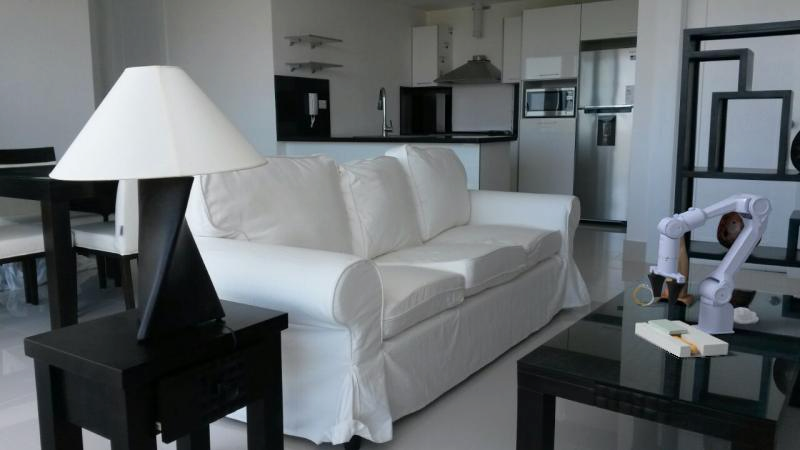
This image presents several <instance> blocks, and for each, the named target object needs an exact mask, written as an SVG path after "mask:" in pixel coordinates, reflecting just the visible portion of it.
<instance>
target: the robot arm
mask: <svg viewBox="0 0 800 450" xmlns="http://www.w3.org/2000/svg"><path fill="white" fill-rule="evenodd" d="M772 211H773V208H772V205H771V201H770V199H769V198H768V197H766V196H765V195H759V194H752V193H750V192H744V191H743V192H740V193H738V194H734V195H732V196H730V197H728V198H726V199H723V200H721V201H719V202H717V203H714V204H712V205H710V206H708V207H705V208H703V209H701V208H699V207H692V206H691V207H689V208H688V210H687V211H685V212H682V213H679V214H678V213H674V215H673V217H668V216H667V217H664V218H662V219H661V221H659V223H658V225H657V226H656V229H657V232H658V233H659V243H658V244H659V245H658V255H657V265H651V266H649V272H650V273H649V274H648V273H647V278H648V281H649V282H650V286H651V289H652V291H653V295H652V297H653V296H654V297H655V298H658V297H661V294H662V293H663V288H664V283H665V285H666V284H667V287H668V298H667V299H668V300H667V301H668V304H669V305H676V304H677V302H678V301H679V300H678V297H679V295H680V293H681V291H682V289H683V288H684V287H685V286H686V283H685V276H683V275H681V274H680V273H678V272H677V269H678V258H679V247H680V237H682V236H683V234H684V235H685V233H687V232H690V231H693V230H695V229H697V228H700V227H703V226H705V225H706V223H707V221H708V220H710V219H714V218H717V217H719V216H723V215H727V214H729V213H731V212H735V213H738V215H739V216H740V218H741V220H742V222H743V226H744V227H743V228H742V230H741V231H740V233H739V234H738V236H737V238H736V239H735V240H734V241H733V244H732V245H731V247H730V248H729V250H727V253H726V255H724V257H723V259H722V260H721V262H720V263H719V265H718V267H717V268H716V269H714V270H713V271H711V272H709V273H708V274H707V275H706V277H704V278H703V279H701V280H700V281H699V282H698V284H697V287H696V288H697V293H698V294H699V295H700V302H699V303H700V304H699V312H698V313H699V314H698V322H697V323H698V324H691V326H692V327H694V328H696V329H698V330H700V331H703V332H705V333H707V334H709V335H719V334H720V335H721V334H734V333H735V331H734V330H733V329H734V322H733V321H734V309H735V308H734V306H733V305H732V303H730V301H731V299H732V296H733V291H734V289H735V288H736V283H735V277H736V276H737V275H738V273H739V271H741V268H742V267H743V266H744V264H745V262H746V261H747V259H748V258H749V256H750V255H751V253H752V252H753V251H754V249H755V247H756V246H757V245H758V243H759V241H760V240H761V238H762V237H763V236H764V234H765V232H766V230H767V227H768V221H769V217H770V216H769V215H770V214H771V213H772ZM667 278H669V279H672V281H666V279H667Z"/></svg>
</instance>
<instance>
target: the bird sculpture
mask: <svg viewBox="0 0 800 450" xmlns="http://www.w3.org/2000/svg"><path fill="white" fill-rule="evenodd" d="M677 272H678V273H680V274H681V275H683V276H685V283H686V286H685V287H684V288H683V289H682V291H681V293H680V295H679V297H678V300H677V301H681V302H682V303H684V304H685V305H686V306H687V308H690V306H691V305H692V303H693V302H694V301H695V296H694V294H692V293H687V286H688V285H687V284H688V277H689V276H688V274H689V257H688V253H687V248H686V242H685V233H684V234H683V236H682V237H680V247H679V258H678V269H677ZM666 281H672V279H669V278H666V279H665V282H666ZM662 299H668V287H667V284H666V283H665V289H664V291H662V294H661V297H656V301H655V302H656V303H657V302H658V301H660V300H662Z"/></svg>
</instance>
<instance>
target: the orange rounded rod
mask: <svg viewBox="0 0 800 450" xmlns="http://www.w3.org/2000/svg"><path fill="white" fill-rule="evenodd" d="M670 335H671V336H673V337H675V338H677V339H679V340H681V341H682V342H684V343H686V344H688V345H690V346H691V354H695V353H697V351H698V349H697V347H696V346H695V345H693V344H691V343H689V342H687V341H685V340H683V339H681V338H679V337H677V336H675V335H673V334H670Z"/></svg>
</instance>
